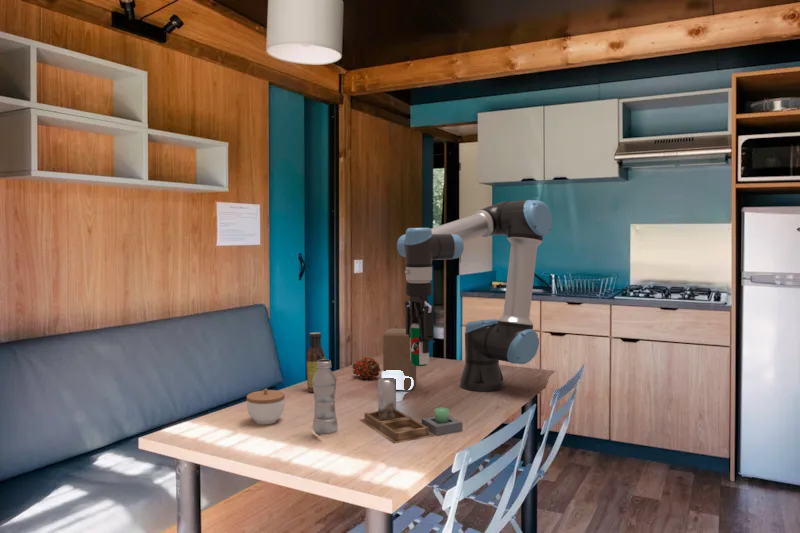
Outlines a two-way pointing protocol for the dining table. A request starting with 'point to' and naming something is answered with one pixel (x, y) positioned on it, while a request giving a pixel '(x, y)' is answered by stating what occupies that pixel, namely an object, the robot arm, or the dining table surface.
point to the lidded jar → (265, 406)
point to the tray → (397, 427)
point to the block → (398, 354)
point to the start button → (441, 415)
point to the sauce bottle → (313, 357)
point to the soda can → (415, 344)
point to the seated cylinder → (386, 399)
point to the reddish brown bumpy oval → (366, 368)
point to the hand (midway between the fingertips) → (419, 361)
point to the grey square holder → (443, 426)
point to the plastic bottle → (324, 399)
